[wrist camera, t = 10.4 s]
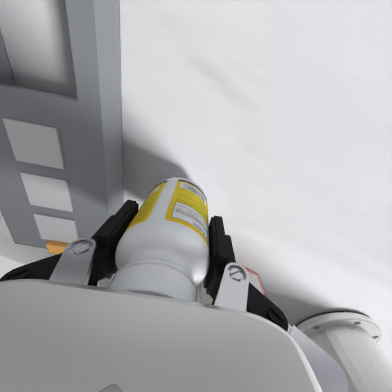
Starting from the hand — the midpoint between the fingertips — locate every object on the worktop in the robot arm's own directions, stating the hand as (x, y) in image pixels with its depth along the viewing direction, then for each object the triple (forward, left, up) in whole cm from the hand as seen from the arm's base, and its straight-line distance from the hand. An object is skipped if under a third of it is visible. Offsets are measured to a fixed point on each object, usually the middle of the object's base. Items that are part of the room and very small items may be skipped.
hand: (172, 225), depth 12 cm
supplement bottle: (0, 0, -4) cm, 4 cm away
